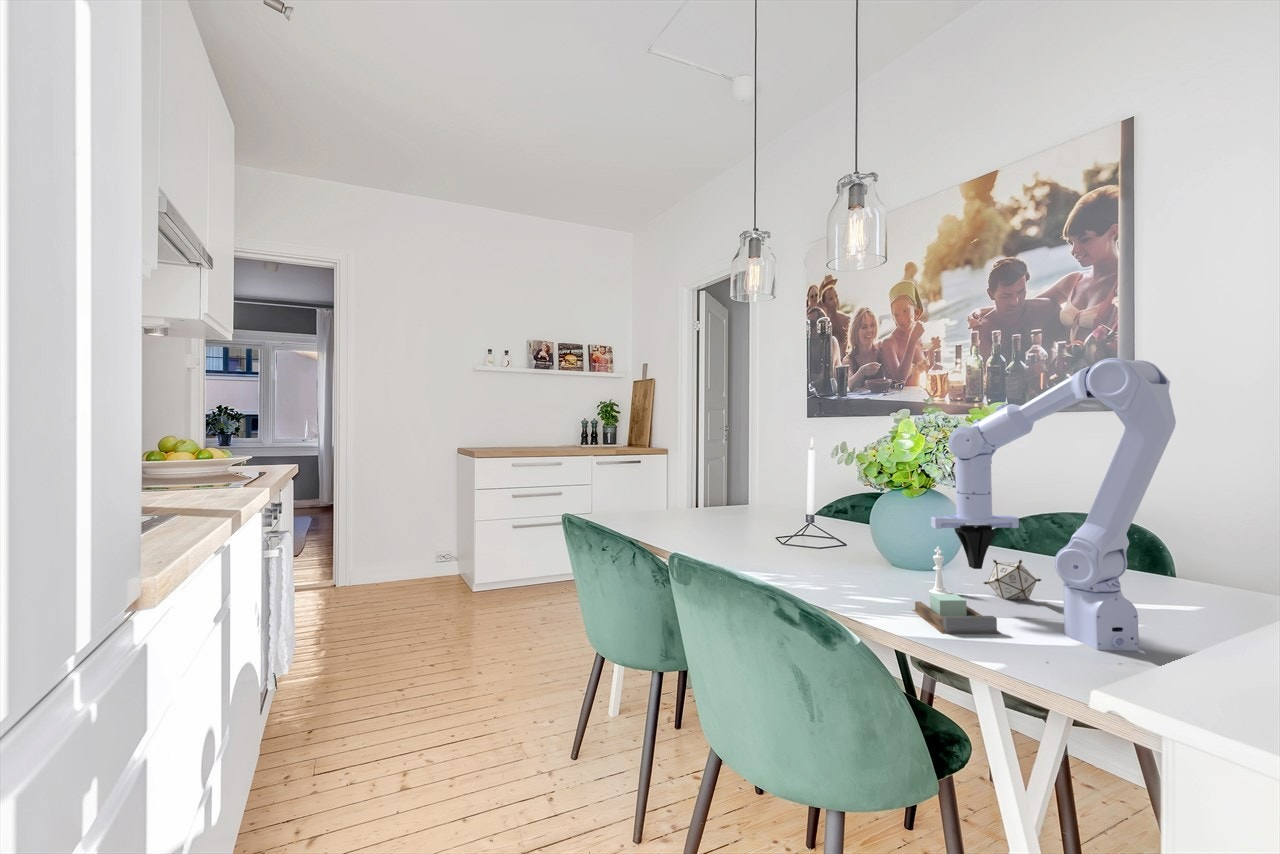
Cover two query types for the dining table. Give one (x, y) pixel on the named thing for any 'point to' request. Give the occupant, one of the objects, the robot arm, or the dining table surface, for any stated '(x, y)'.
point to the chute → (958, 621)
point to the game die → (1011, 581)
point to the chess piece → (938, 573)
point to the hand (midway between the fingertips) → (975, 567)
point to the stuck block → (948, 604)
